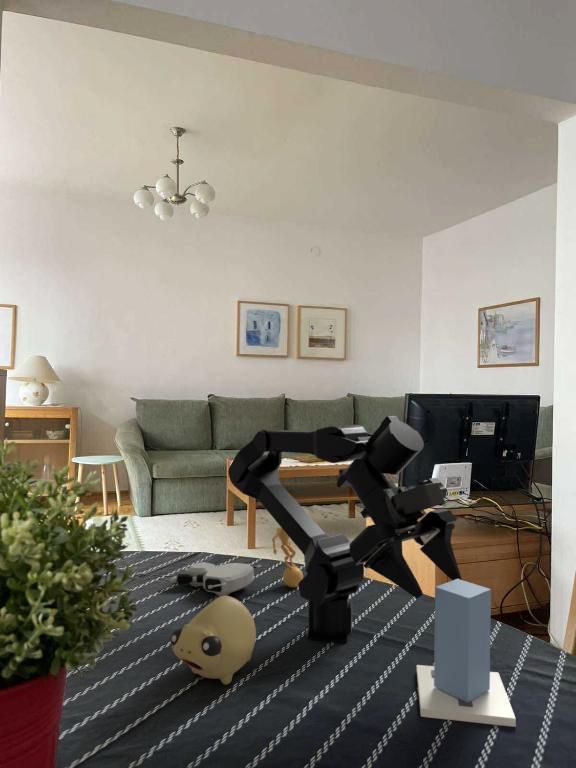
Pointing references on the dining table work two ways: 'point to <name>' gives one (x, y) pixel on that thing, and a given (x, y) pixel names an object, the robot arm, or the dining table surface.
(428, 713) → the letter card
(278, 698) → the dining table surface
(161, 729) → the dining table surface
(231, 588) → the robot toy
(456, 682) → the slate post
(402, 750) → the dining table surface
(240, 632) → the beige rounded figure
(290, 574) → the figurine
